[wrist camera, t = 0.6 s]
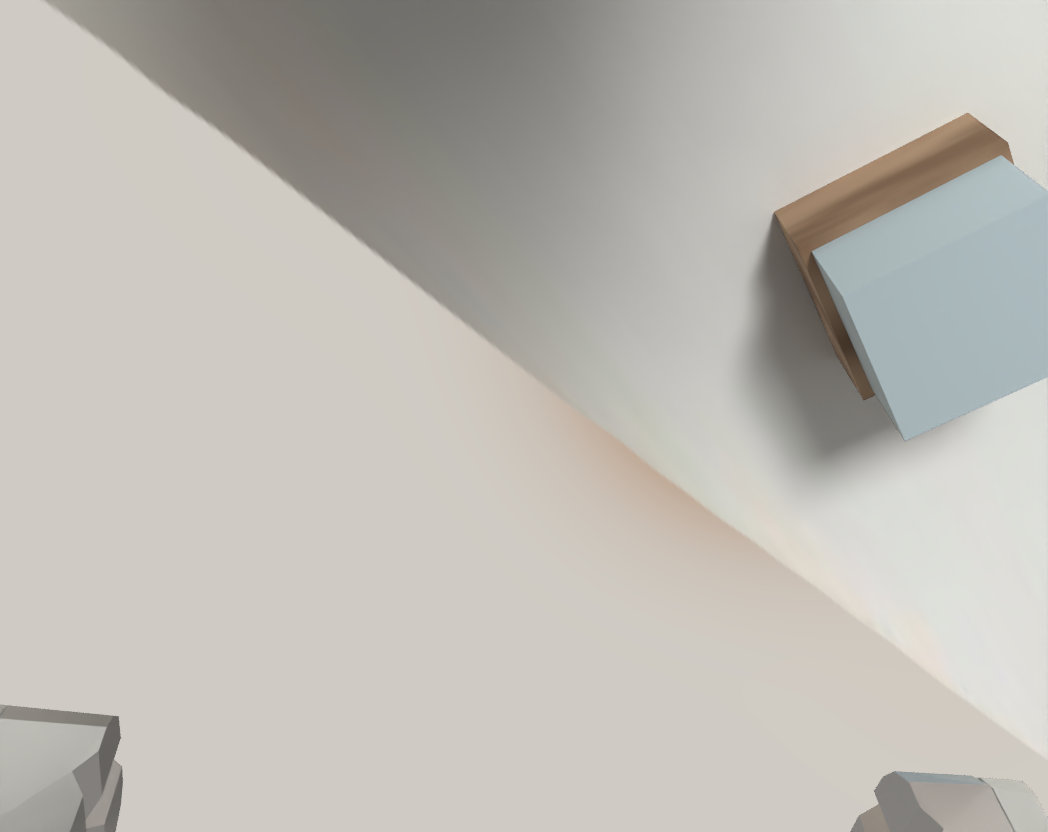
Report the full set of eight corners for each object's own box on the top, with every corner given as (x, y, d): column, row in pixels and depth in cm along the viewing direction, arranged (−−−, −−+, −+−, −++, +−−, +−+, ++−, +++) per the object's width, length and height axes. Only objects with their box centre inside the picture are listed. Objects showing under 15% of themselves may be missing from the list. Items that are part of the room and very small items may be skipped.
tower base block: (772, 209, 56) (797, 247, 52) (965, 110, 53) (1007, 142, 49) (836, 355, 62) (863, 400, 58) (1013, 272, 59) (1055, 313, 55)
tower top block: (811, 251, 52) (842, 296, 48) (1001, 155, 50) (1050, 193, 46) (872, 389, 57) (904, 441, 53) (1046, 308, 55) (1095, 355, 51)
